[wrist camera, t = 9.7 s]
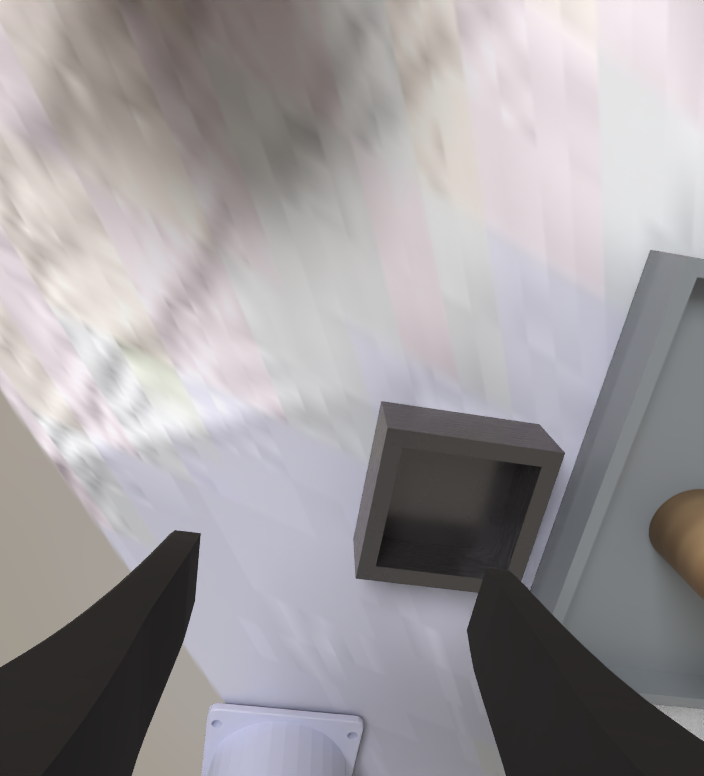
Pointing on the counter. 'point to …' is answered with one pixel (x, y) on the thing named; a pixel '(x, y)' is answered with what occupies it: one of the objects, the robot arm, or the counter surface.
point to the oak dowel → (682, 536)
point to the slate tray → (638, 496)
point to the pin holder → (451, 497)
